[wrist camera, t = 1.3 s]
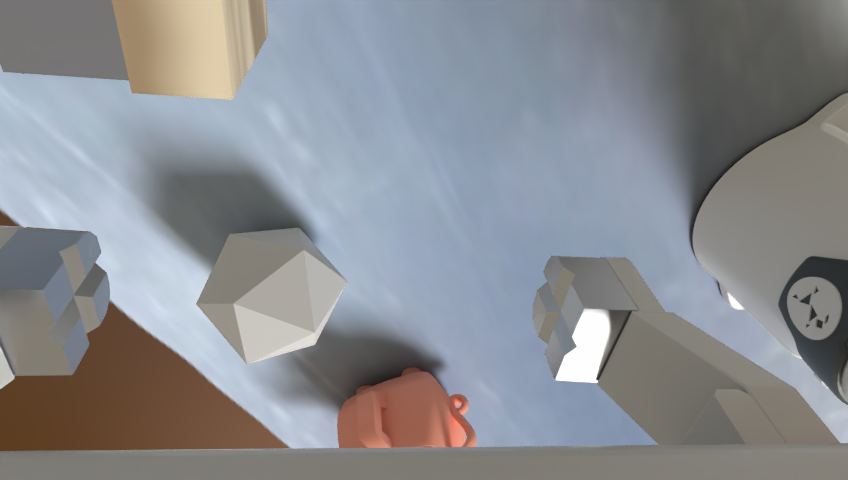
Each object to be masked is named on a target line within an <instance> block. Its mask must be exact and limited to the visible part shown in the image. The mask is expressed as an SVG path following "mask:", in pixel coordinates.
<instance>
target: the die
mask: <svg viewBox="0 0 848 480" xmlns="http://www.w3.org/2000/svg"><path fill="white" fill-rule="evenodd" d="M346 283H347V281H346V279H345V278H344V277H343V276H342V275H341V274H340V273H339V272H338V270H337V269H336V268H335V267H334V266H333V265H332V264H331V263H330V261H329V260H328V259H327V258H326V257H325V256H324V255H323V254H322V252H321V251H320V250H319V249H318V248H317V247H316V246H315V245H314V243H313V242H312V241H311V240H310V239H309V238H308V237H307V236H306V235H305V233H304V232H303V231H302V230H301V229H300V228H299V227H298V228H287V229H277V230H266V231H256V232H245V233H235V234H229V236H228V238H227V240H226V242H225V244H224V246H223V248H222V251H221V253H220V255H219V257H218V259H217V261H216V263H215V265H214V267H213V270H212V272H211V274H210V276H209V278H208V280H207V282H206V284H205V287H204V289H203V291H202V293H201V295H200V297H199V299H198V301H197V303H196V304H197V305H198V307H199V308H200V309H201V310H202V311H203V313H204V314H205V315H206V316H207V317H208V318H209V320H210V321H211V322H212V323H213V324H214V326H215V327H216V328H217V329H218V330H219V332H220V333H221V334H222V335H223V336H224V338H225V339H226V340H227V341H228V342H229V344H230V345H231V346H232V347H233V348H234V349H235V351H236V352H237V353H238V354H239V355H240V357H241V358H242V359H243V360H244V361H245V363H246V364H250V363H253V362H257V361H260V360H264V359H267V358H271V357H274V356H278V355H281V354H285V353H288V352H292V351H295V350H299V349H302V348H306V347H309V346H313V345H315V344H316V342H317V340H318V338H319V336H320V334H321V332H322V330H323V328H324V326H325V324H326V322H327V320H328V318H329V316H330V314H331V312H332V311H333V309H334V307H335V305H336V303H337V301H338V299H339V297H340V295H341V293H342V291H343V289H344V287H345V285H346Z"/></svg>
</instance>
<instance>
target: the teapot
mask: <svg viewBox="0 0 848 480" xmlns="http://www.w3.org/2000/svg"><path fill="white" fill-rule="evenodd" d="M459 404H462V405H461V407H460V408H456V406H457V405H459ZM467 410H468V400H467V398H466V397H465V396H463V395H460V394H455V395H452V396H450V397H449V396H448V394H447V393H446V391H445V390H444V389H443V387H442V386H441V385H440V384H439V383H438V381H437V380H436V379H435V378H434V377H433V376H432V375H431V374H430V373H428V372H422V370H421V369H419V368H416V367H409V368H407V369H405V370H404V371H403V372H402V374H401V376H400V377H397V378H394V379H390V380H387V381H384V382H382V383H379V384H376V385H374V386H370V385H363V386H360V387H358V388H357V390H356V395H354V396H352V397H350V398H349V399H347V400H346V401H345V402H344V404H343V405H342V407H341V409H340V412H339V414H338V423H337V428H338V442H339V448H403V447H475V446H476V435H475V432H474V430H473V428H472V426H471V425H470V424H469V422H468V421H467V420H466V419H465V418H464V417H463V416H462V415H461V414H464V413H465V412H466V411H467ZM465 432H466V435H467V439H466V442H465Z"/></svg>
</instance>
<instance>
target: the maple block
mask: <svg viewBox="0 0 848 480" xmlns="http://www.w3.org/2000/svg"><path fill="white" fill-rule="evenodd" d="M112 4H113V8H114V13H115V17H116V22H117V27H118V31H119V36H120V41H121V45H122V50H123V54H124V59H125V64H126V68H127V73H128V77H129V82H130V87H131V91H132V93H139V94H154V95H170V96H185V97H201V98H216V99H231V100H233V98H234V96H235V94H236V92H237V90H238V89H239V87H240V85H241V83H242V81H243V79H244V78H245V76H246V74H247V72H248V70H249V69H250V67H251V65H252V63H253V61H254V59H255V58H256V56H257V54H258V52H259V50H260V48H261V47H262V45H263V43H264V41H265V39H266V37H267V36H268V27H267V11H266V0H112Z"/></svg>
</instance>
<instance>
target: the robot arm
mask: <svg viewBox="0 0 848 480" xmlns="http://www.w3.org/2000/svg"><path fill="white" fill-rule="evenodd" d="M693 248H694V252H695V255H696V258H697V260H698V262H699V263H700V265H701V266H702V267H703V268H704V269H705V270H706V271H707V272H708V273H709V274H711V275H712V276H713V277H714V278H715V279H716V280H717V281H718V282H719V285H720V289H721V293H722V296H723V298H724V300H725V301H726V302H727V303H728V304H729V305H730V306H731V307H732V308H734V309H745V310H746V311H747V312H748V313H749V314H750V315H751V316H752V317H753V318H754V319H756V320H757V321H758V322H759V323H760V324H761V325H762V326H763V327H764V328H765V329H766V330H767V331H768V332H769V333H770V334H771V335H772V336H773V337H774V338H775V339H776V340H777V341H778V342H779V343H780V344H781V345H782V346H784V347H785V348H786V349H787V350H788V351H789V352H790V353H791V354H792V355H794V356H796V357H798V358H802V359H803V360H804V361H805V362H806V363H807V365H808V366H809V367H810V368H811V369H812V370H813V371H814V375H815V376H816V377H817V379H818V380H819V381H820V382H821V383H822V384H823V385H824V386H825V387H826V388H827V389H830V390H831V391H832V392H833V393H834V394H835V395H836V396H837V397H838V398H839V399H840V400H841V401H842V402H843V403H845V404H847V405H848V93H845V94H843V95H841V96H839V97H837V98H836V99H834V100H833V101H832V102H830V103H829V104H828V105H826V106H825V107H824V108H823V109H821V110H820V111H819V112H818V113H816V114H815V115H814V116H813V117H812V118H811V119H809V120H808V121H807V122H805V123H804V124H802V125H800V126H798V127H796V128H794V129H792V130H790V131H788V132H786V133H784V134H781V135H779V136H777V137H775V138H773V139H771V140H769V141H767V142H766V143H764V144H762V145H760V146H759V147H757V148H756V149H754V150H753V151H751V152H750V153H748V154H747V155H746V156H744V157H743V158H742V159H740V160H739V161H738V162H737V163H736V164H735V165H733V166H732V167H731V168H730V169H729V170H728V171H727V172H726V173H725V174H724V175H723V176H722V177H721V178H720V180H719V181H718V182H717V183H716V184H715V186H714V187H713V188H712V190H711V191H710V192H709V194H708V195H707V197H706V199H705V200H704V202H703V204H702V206H701V208H700V210H699V213H698V215H697V218H696V221H695V225H694V230H693ZM100 254H101V249H100V246H99V243H98V239H97V236H95V235H94V234H93V233H91V232H88V231H74V230H59V229H45V228H31V227H27V228H24V227H12V226H0V389H1V388H2V387H4V386H5V385H6V384H8V383H9V382H10V381H12V380H13V379H14V376H26V375H28V376H30V375H73V373H74V371H75V370H76V368H77V366H78V364H79V362H80V360H81V359H82V357H83V355H84V353H85V352H86V350H87V348H88V346H89V342H88V338H87V335H86V334H87V333H88V332H90V331H91V330H93V329H95V328H96V327H98V326H100V324H101V322H102V320H103V318H104V316H105V315H106V312H107V308H108V303H109V298H110V289H109V281H108V276H107V273H106V272H105V271H104V270H103V269H102V268H101V267H99V266H98V265H97V264H96V263H95V262H96V260H97V258H98V257H99V255H100ZM544 275H545V277H546V279H547V283H545V284H544V285H543V286H542V287H540V288H539V289H538V290H537V293H536V297H535V300H534V305H533V320H534V326H535V329H536V332H537V335H538V337H539V338H541V339H542V340H543V341H544V342H546V343H547V344H548V346H547V348H546V351H545V356H546V359H547V361H548V364H549V367H550V369H551V372H552V374H553V377H554V379H555V380H556V381H581V382H598V383H597V385H598V386H599V387H600V388H601V389H602V390H603V391H604V392H605V393H606V394H608V395H609V396H610V397H611V398H612V399H613V400H614V401H615V402H616V403H617V404H618V405H619V406H620V407H621V408H622V409H623V410H624V411H625V412H626V413H627V414H628V415H629V416H630V417H631V418H632V419H633V420H634V421H635V422H636V423H637V424H638V425H639V426H640V427H641V428H642V429H643V430H644V431H645V432H646V433H647V434H648V435H649V436H650V437H651V438H652V439H654V440H655V441H656V442H657V443H658V444H659V445H625V446H522V447H403V448H301V449H201V450H200V449H199V450H96V451H95V450H94V451H0V480H848V443H840V442H839V441H838V440H837V439H836V437H835V436H834V435H833V434H832V433H831V431H830V430H829V429H828V428H827V426H826V425H825V424H824V423H823V422H822V420H821V419H820V418H819V417H818V415H817V414H816V413H815V412H814V411H813V409H812V408H811V407H810V406H809V404H808V403H807V402H806V401H805V400H804V398H803V397H802V396H801V395H800V394H799V392H798V391H797V390H796V389H795V388H794V387H792V386H791V385H789V384H787V383H786V382H784V381H782V380H781V379H779V378H778V377H776V376H774V375H773V374H771V373H770V372H768V371H766V370H765V369H763V368H762V367H760V366H758V365H757V364H755V363H753V362H752V361H750V360H749V359H747V358H745V357H744V356H742V355H741V354H739V353H737V352H736V351H734V350H733V349H731V348H729V347H728V346H726V345H725V344H723V343H721V342H720V341H718V340H716V339H715V338H713V337H712V336H710V335H708V334H707V333H705V332H704V331H702V330H700V329H699V328H697V327H696V326H694V325H692V324H691V323H689V322H687V321H686V320H684V319H683V318H681V317H679V316H678V315H676V314H675V313H669V312H665V310H664V309H663V308H662V306H661V305H660V303H659V302H658V300H657V299H656V297H655V296H654V294H653V293H652V291H651V290H650V288H649V287H648V286H647V284H646V283H645V281H644V280H643V278H642V277H641V275H640V274H639V272H638V271H637V269H636V268H635V267H634V265H633V264H632V262H631V261H630V260H628V259H626V258H625V257H600V258H595V257H571V256H551V257H550V259H549V260H548V261H547V264H546V266H545V269H544Z"/></svg>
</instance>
